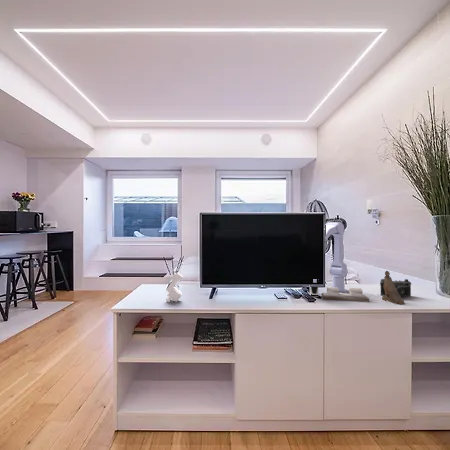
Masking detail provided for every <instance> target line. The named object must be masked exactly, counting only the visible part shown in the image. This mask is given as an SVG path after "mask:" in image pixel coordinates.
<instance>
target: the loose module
mask: <svg viewBox="0 0 450 450" xmlns="http://www.w3.org/2000/svg"><path fill="white" fill-rule="evenodd" d="M310 294H312V295H318V296H319V287H318V288H317V293H316V294H313V293H312V288H311V287H310V286H309V295H310Z"/></svg>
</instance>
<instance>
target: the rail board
mask: <svg viewBox="0 0 450 450" xmlns="http://www.w3.org/2000/svg"><path fill="white" fill-rule="evenodd" d="M348 289H349V290H348V293H340V292H339V289H338V287H331V286H326V292H321V297H323V298H322V299H324V301H325V300H326V301H330V300H331V301H343V302H344V301H346V302H347V301H349V302H350V301H351V302H370V299H369V297H368V296H367V295H366V294H363V289H362V288H359V287H349V288H348Z"/></svg>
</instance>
